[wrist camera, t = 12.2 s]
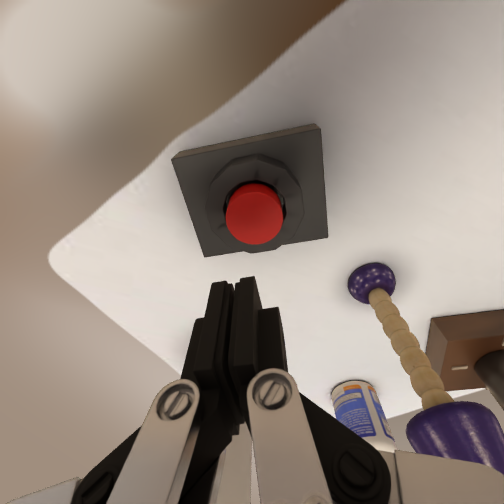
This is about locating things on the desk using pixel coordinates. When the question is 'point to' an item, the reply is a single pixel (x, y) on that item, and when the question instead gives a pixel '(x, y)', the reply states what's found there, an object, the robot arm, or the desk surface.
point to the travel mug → (237, 470)
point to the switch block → (262, 172)
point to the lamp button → (254, 214)
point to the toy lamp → (430, 385)
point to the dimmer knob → (493, 374)
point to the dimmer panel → (463, 346)
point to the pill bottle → (363, 414)
